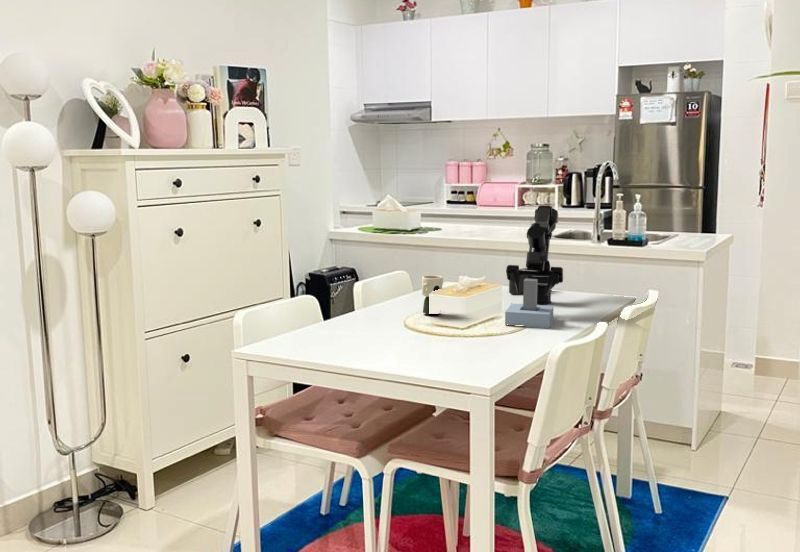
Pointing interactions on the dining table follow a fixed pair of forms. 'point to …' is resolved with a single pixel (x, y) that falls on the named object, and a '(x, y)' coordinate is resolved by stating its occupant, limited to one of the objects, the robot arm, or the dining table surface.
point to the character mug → (430, 288)
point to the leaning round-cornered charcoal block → (513, 288)
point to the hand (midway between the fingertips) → (532, 294)
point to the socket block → (529, 316)
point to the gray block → (530, 295)
